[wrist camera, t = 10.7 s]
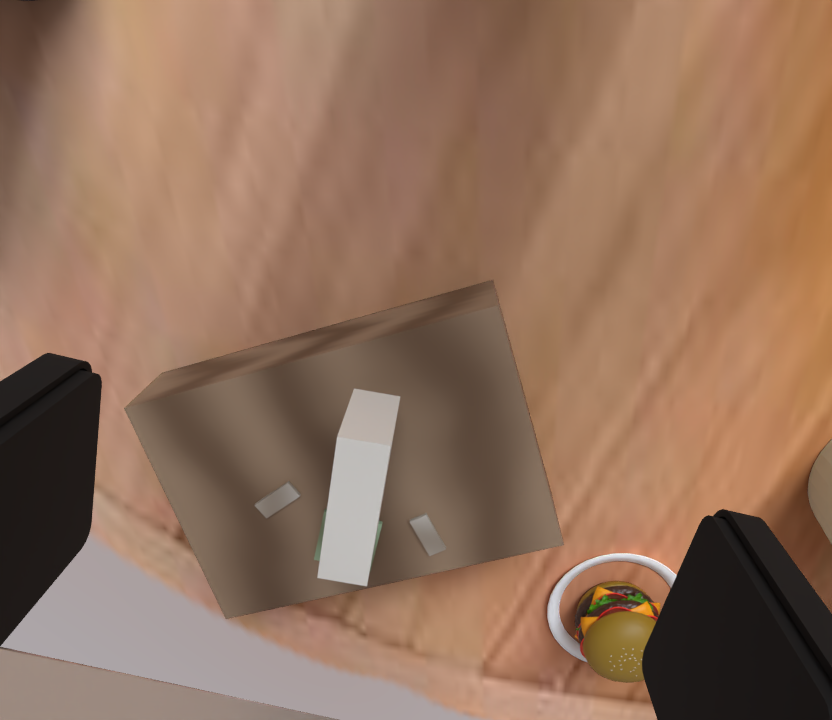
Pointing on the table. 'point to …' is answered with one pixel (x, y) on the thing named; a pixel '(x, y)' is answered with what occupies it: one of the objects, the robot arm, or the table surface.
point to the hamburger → (610, 620)
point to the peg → (357, 487)
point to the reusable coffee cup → (822, 489)
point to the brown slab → (316, 441)
